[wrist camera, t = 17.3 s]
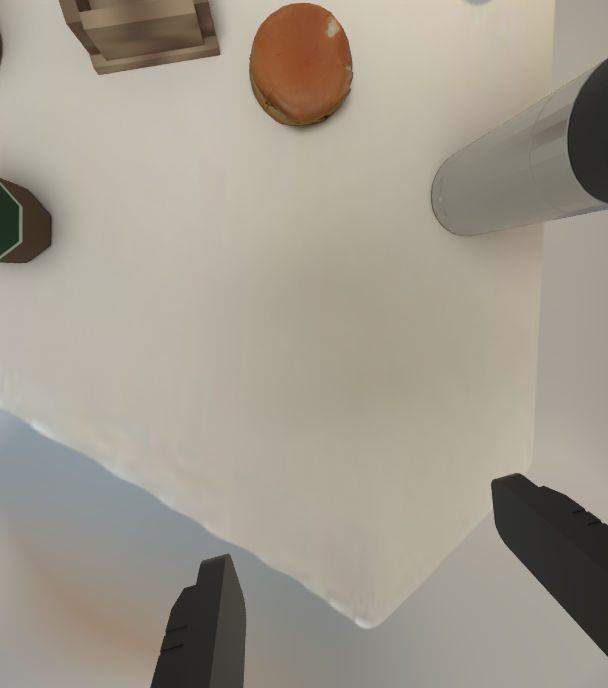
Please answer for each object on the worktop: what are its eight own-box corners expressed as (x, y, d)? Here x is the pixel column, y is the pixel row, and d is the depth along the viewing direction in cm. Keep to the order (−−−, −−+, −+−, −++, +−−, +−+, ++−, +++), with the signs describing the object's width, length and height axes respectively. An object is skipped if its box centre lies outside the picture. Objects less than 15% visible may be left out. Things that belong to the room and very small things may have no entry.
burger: (235, 98, 34) (231, 70, 29) (276, 5, 32) (279, -39, 28) (320, 151, 36) (329, 133, 31) (362, 66, 34) (377, 34, 30)
